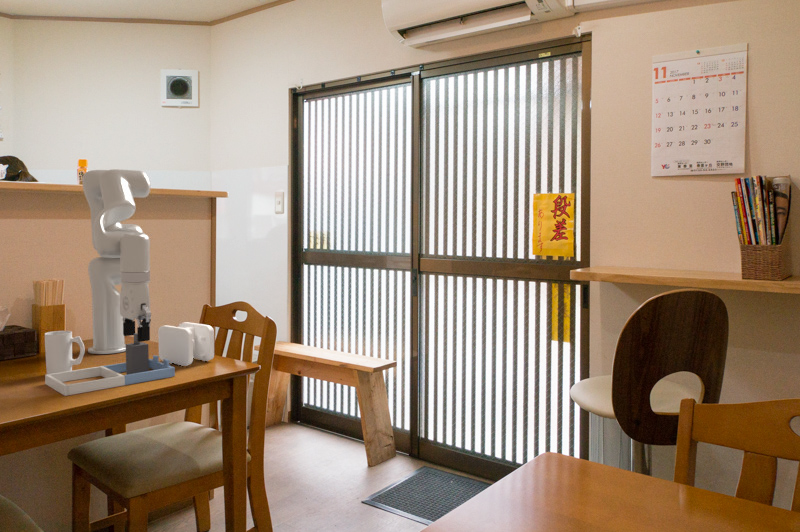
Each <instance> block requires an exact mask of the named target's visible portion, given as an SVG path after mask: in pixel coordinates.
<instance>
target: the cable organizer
mask: <svg viewBox="0 0 800 532" xmlns="http://www.w3.org/2000/svg"><path fill="white" fill-rule="evenodd" d="M157 333H158V338H157V339H158V356H159V360H161V361H162V362H163V359H168V360H169V363H170V364H169V365H174V364H175V365H178V366H179V365H181V366H180V367H182V366H187V367H188V366H189V365H191V364H192V363H193V361H194V359H195V360H199V361H200V360H203V361H202V362H205V361H207V362H209V361H210V360H213V359H214V357H215V330H214V328H213V327H212V326H211V325H209V324H204V323H198V322H196V323H195V322H188V321H185V322H181V323H179V324H178V326H174V325H168V324H166V325H160V326H159V328H158V331H157ZM193 358H194V359H193ZM172 363H174V364H172Z"/></svg>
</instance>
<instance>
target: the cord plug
mask: <svg viewBox="0 0 800 532" xmlns="http://www.w3.org/2000/svg"><path fill="white" fill-rule="evenodd" d="M125 344H126V351H125V363H126V372H125V375H129V374H135V373H141V372H147V371H150V368H149V359H150V358H149V357H150V356H149V355H150V354H149V344H148V343H146V342H144V341H142V342H139V341H138V340H137V332H135V334H134V335H133V342H131V343H125Z"/></svg>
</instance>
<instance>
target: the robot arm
mask: <svg viewBox="0 0 800 532" xmlns="http://www.w3.org/2000/svg"><path fill="white" fill-rule="evenodd" d="M81 183H82V191H83V194H84V196H85V199H86V201H87V203H88V207H89V210H90V222H91V223H90V224H91V225H90V226H91V242H92V243H91V244H92V246H93V249H94V250H95V251H96V253H97V254H98V255H99V257H96V258H92V259H91V260H90V261H89V262H88V265H87V272H88V276H89V277H88V278H89V283H90V290H91V306H92V308H91V310H92V344H93V345H92V346H90V347H88V348H87V352H88V353H89V354H93V355H94V354H95V355H110V354H118V353H124V352H126V344H127V343H125V337H128V336H129V337H131V336H134V334H135V333H137V340H138V341H139V342H148V341H150V339H151V332H150V331H151V330H150V329H151V321H152V319H151V318H152V312H151V297H150V287H149V284H150V283H151V257H150V253H151V252H150V250H151V242H150V237H149V236H148V235H147V234H146V233H145V232H144V231H143V229H142V227H141V226H140V225H138V224H133V223H121V222H124V221H125V220H129V219H130V218H131V217H133V215H134V214H135V212H136V209H137V208H136V202H135V200H134V198H142V199H143V198H147V197H148V196H149V194H150V193H151V180H150V178H149V176H148V175H147V173H146V172H145V171H143V170H135V169H133V170H132V169H131V170H130V169H93V170H88V171H86V172H85V173H84V174H83V176H82V182H81ZM120 285H121V286H120ZM116 286H120V291H119V290H118V289H117V288H116ZM135 320H136V321H135ZM136 322H137V325H138V326H137V327H136ZM136 331H137V332H136Z"/></svg>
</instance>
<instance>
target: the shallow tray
mask: <svg viewBox="0 0 800 532" xmlns="http://www.w3.org/2000/svg"><path fill="white" fill-rule="evenodd" d="M149 369H151V370H149V371H147V372H141V373H135V374H129V375H126V374H125V375H123V374H122V373H126V362H119V363H114V364H108V365H107V364H106V365H99V366H93V367H87V368H80V369H75V370H73V369H72V371H67V372H60V373H53V374H47V373H46V374H45V375H44V381H45V382H44V383H45V385H46V386H48V387H50V388H51V389H52V390H55V391H56V392H58V393H59V394H61V395H62V396H65V397H66V396H72V395H77V394H78V395H79V394H83V393H89V392H94V391H100V390H105V389H110V388H111V389H112V388H116V387H123V386H128V385H133V384H139V383H144V382H151V381H155V380H156V381H157V380H162V379H167V378H172V377H173V376H174V377H175V376H176V370H175V369H176V368H175V367H174V366H171V365H170V364H169V360H168V359H163V361H162V362H161V361H160V358H159V355H156V354H155V355H154V354H153V355H152V358H149ZM96 377H103V378H99V379H93V380H88V381H82V382H75V383H69V384H67V383H65V382H70V381H77V380H83V379H84V380H85V379H89V378H96Z"/></svg>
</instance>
